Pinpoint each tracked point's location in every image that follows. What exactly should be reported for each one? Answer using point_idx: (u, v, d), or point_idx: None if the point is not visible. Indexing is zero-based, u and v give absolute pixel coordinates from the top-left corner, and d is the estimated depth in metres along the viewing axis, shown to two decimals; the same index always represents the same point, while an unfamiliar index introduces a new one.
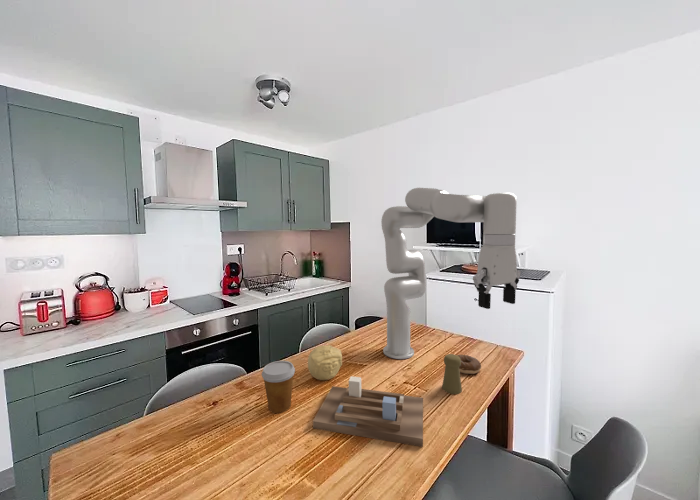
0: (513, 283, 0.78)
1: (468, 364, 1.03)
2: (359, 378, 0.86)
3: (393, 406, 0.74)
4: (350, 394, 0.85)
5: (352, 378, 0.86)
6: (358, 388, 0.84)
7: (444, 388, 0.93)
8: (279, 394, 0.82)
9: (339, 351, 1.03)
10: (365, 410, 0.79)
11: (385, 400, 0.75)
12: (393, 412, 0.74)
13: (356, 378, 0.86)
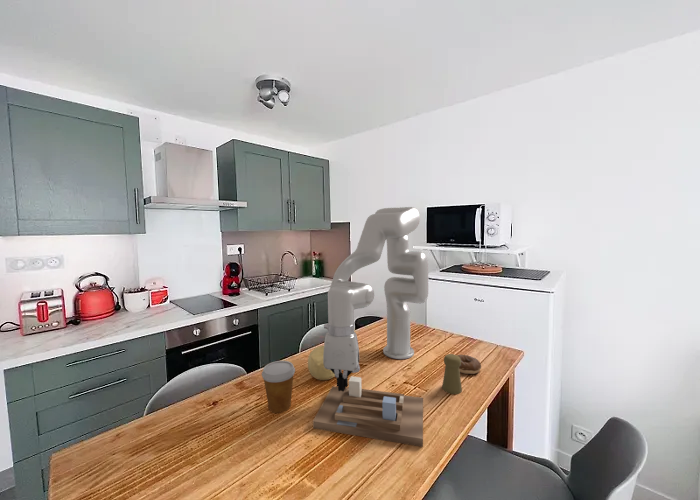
0: None
1: (468, 364, 1.03)
2: (359, 378, 0.86)
3: (393, 406, 0.74)
4: (350, 394, 0.85)
5: (352, 378, 0.86)
6: (358, 388, 0.84)
7: (444, 388, 0.93)
8: (279, 394, 0.82)
9: None
10: (365, 410, 0.79)
11: (385, 400, 0.75)
12: (393, 412, 0.74)
13: (356, 378, 0.86)
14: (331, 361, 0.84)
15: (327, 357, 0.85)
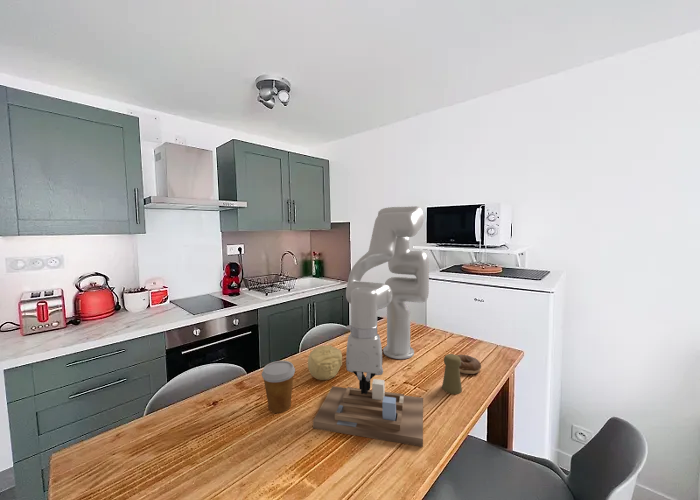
0: None
1: (468, 364, 1.03)
2: (382, 381, 0.84)
3: (393, 406, 0.74)
4: (373, 397, 0.84)
5: (375, 381, 0.84)
6: (382, 391, 0.83)
7: (444, 388, 0.93)
8: (279, 394, 0.82)
9: (339, 351, 1.03)
10: (365, 410, 0.79)
11: (385, 400, 0.75)
12: (393, 412, 0.74)
13: (379, 381, 0.84)
14: (354, 363, 0.83)
15: (350, 359, 0.83)
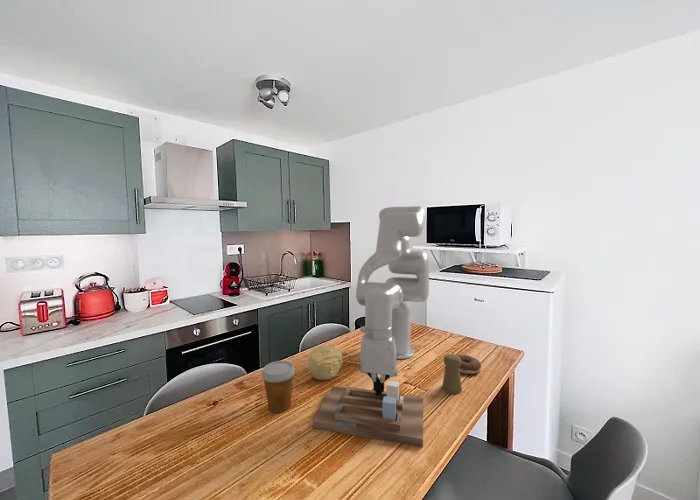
0: None
1: (468, 364, 1.03)
2: (397, 382, 0.83)
3: (393, 406, 0.74)
4: None
5: (390, 383, 0.83)
6: (396, 393, 0.82)
7: (444, 388, 0.93)
8: (279, 394, 0.82)
9: (339, 351, 1.03)
10: (365, 410, 0.79)
11: (385, 400, 0.75)
12: (393, 412, 0.74)
13: (394, 382, 0.83)
14: (369, 365, 0.81)
15: (364, 361, 0.82)
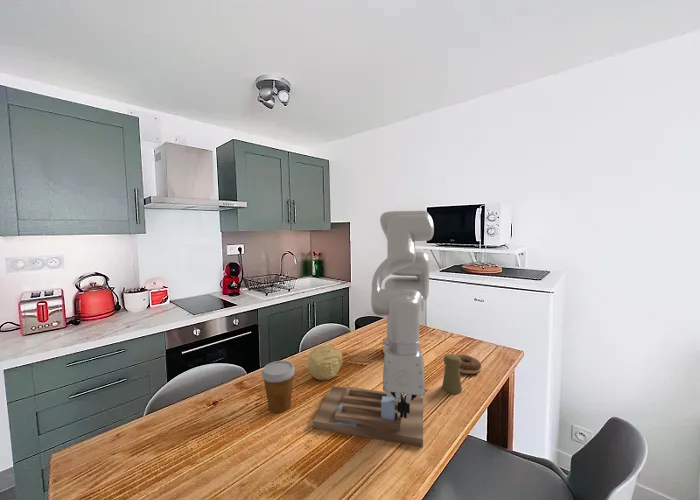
0: None
1: (468, 364, 1.03)
2: None
3: (392, 406, 0.74)
4: None
5: None
6: None
7: (444, 388, 0.93)
8: (279, 394, 0.82)
9: (339, 351, 1.03)
10: (365, 410, 0.79)
11: (384, 400, 0.75)
12: (392, 412, 0.74)
13: None
14: (393, 383, 0.72)
15: (388, 379, 0.72)
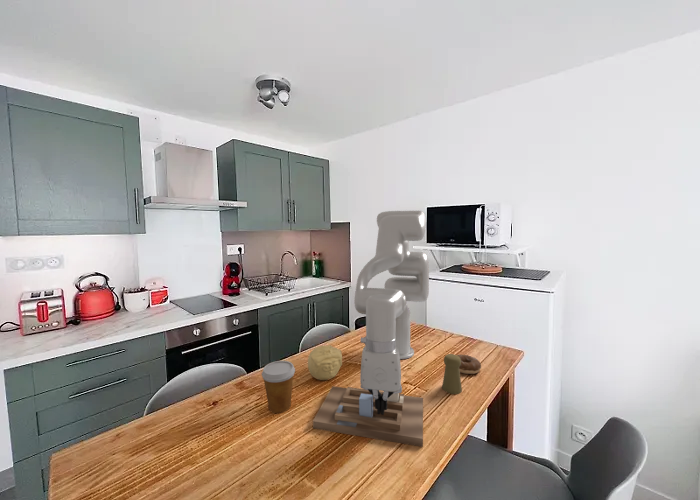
0: None
1: (468, 364, 1.03)
2: None
3: (369, 403, 0.75)
4: (388, 399, 0.82)
5: None
6: (396, 393, 0.82)
7: (444, 388, 0.93)
8: (279, 394, 0.82)
9: (339, 351, 1.03)
10: None
11: (362, 397, 0.77)
12: (369, 409, 0.76)
13: None
14: (370, 381, 0.73)
15: (365, 376, 0.74)
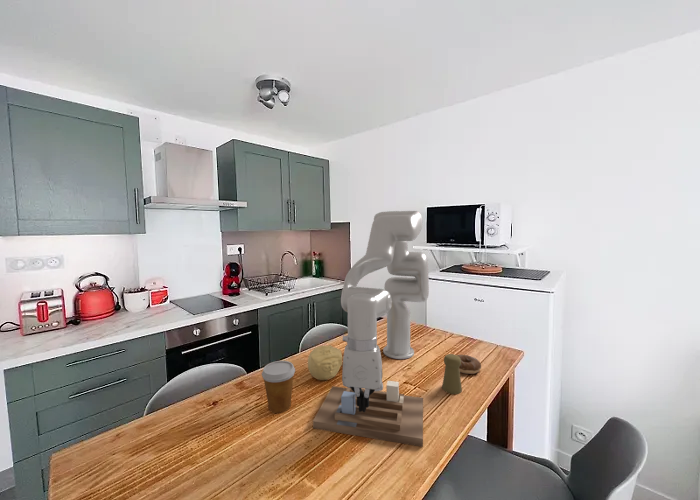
0: None
1: (468, 364, 1.03)
2: (397, 382, 0.83)
3: (351, 400, 0.77)
4: (388, 399, 0.82)
5: (390, 383, 0.83)
6: (396, 393, 0.82)
7: (444, 388, 0.93)
8: (279, 394, 0.82)
9: (339, 351, 1.03)
10: None
11: (344, 394, 0.78)
12: (351, 406, 0.77)
13: (394, 382, 0.83)
14: (351, 378, 0.74)
15: (347, 374, 0.75)
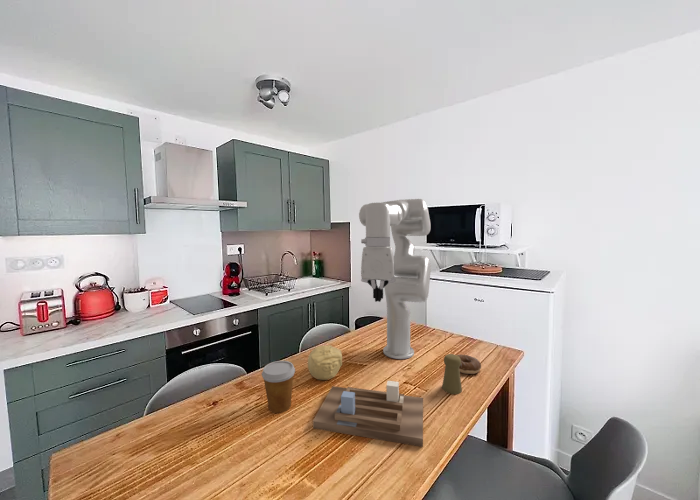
0: None
1: (469, 364, 1.03)
2: (397, 382, 0.83)
3: (351, 400, 0.77)
4: (388, 399, 0.82)
5: (390, 383, 0.83)
6: (396, 393, 0.82)
7: (444, 388, 0.93)
8: (279, 394, 0.82)
9: (339, 351, 1.03)
10: (365, 410, 0.79)
11: (344, 394, 0.78)
12: (351, 406, 0.77)
13: (394, 382, 0.83)
14: (369, 272, 0.89)
15: (365, 268, 0.90)
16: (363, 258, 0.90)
